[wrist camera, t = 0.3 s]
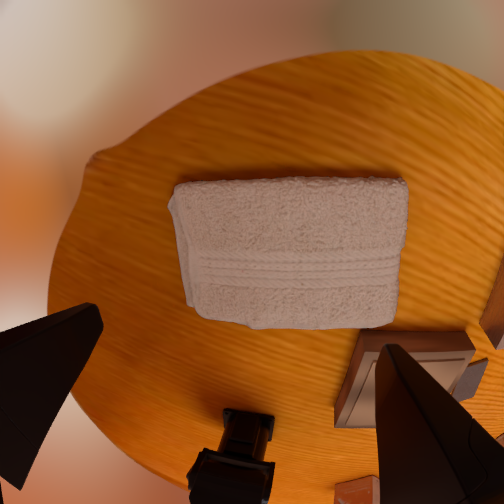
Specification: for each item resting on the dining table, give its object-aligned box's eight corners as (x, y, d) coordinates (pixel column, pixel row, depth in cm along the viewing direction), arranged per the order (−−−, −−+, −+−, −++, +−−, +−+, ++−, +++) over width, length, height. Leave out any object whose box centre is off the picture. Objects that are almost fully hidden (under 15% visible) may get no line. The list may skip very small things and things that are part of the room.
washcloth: (175, 180, 22) (156, 187, 19) (404, 172, 18) (418, 177, 15) (197, 306, 26) (184, 325, 23) (390, 309, 22) (398, 330, 20)
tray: (423, 405, 26) (428, 425, 23) (334, 407, 28) (334, 429, 25) (465, 331, 21) (477, 351, 18) (360, 329, 23) (365, 353, 20)
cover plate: (471, 391, 24) (473, 396, 23) (446, 399, 25) (448, 404, 25) (485, 355, 22) (488, 360, 21) (459, 363, 23) (462, 368, 22)
